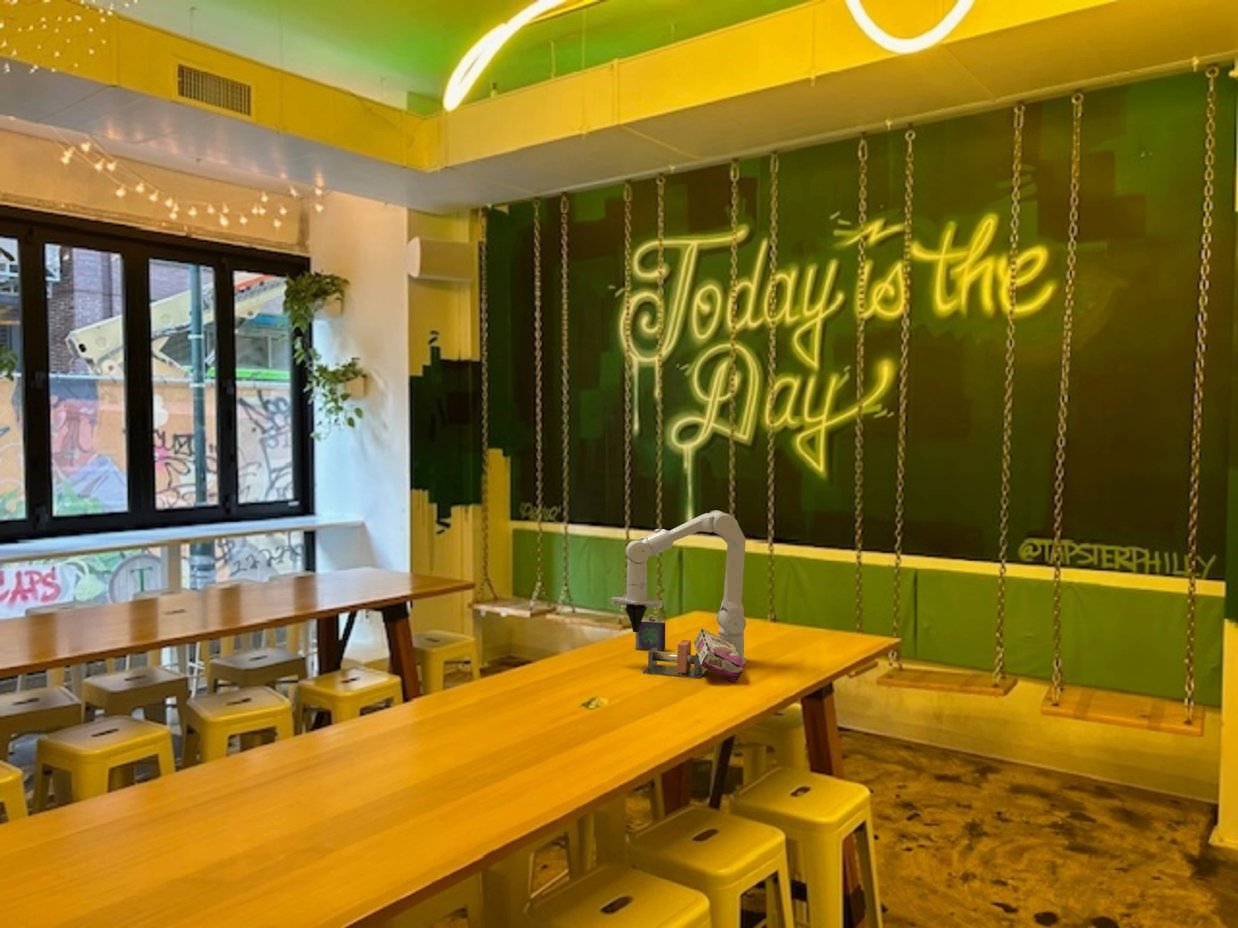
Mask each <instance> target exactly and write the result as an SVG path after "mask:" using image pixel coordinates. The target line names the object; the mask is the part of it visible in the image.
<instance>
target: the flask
mask: <svg viewBox="0 0 1238 928" xmlns="http://www.w3.org/2000/svg"><path fill="white" fill-rule="evenodd" d="M653 616H654V614H649V615H648V616H647V618H648V619H642V621H641V624H640V629H639V632H635V650H638V651H647V652H649V651H650V650H651V649H652V648H657V652H660V653H666V652H665V650H666V622H665V620H661V619H656V618H654V617H653Z"/></svg>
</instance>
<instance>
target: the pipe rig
mask: <svg viewBox="0 0 1238 928" xmlns="http://www.w3.org/2000/svg"><path fill="white" fill-rule="evenodd" d="M647 654H648V659H647V660H648V661H647V668H645V669H644V670H643V671H642V674H647V675H658V676H667V677H669V676H670V677H677V678H687V679H688V678H689V679H690V678H691V679H701V678H702V677H703V676H704V675H705V673H706V672H707V670H708V669H707V668H703V666H701V664H700V661H699V657H698V654H697V653H696V654H695V655H692V654H691V655H687V664H691V665H693V667H691V668H690V669H689V670H688V671H687V672H686V673H681V672H677V665H670V664H669V665H667V664H658V662H666V663H673V664H674V663H675V664H677V658H678V653H671V652H660V651H657V648H652V649H651V650H650V651H647Z"/></svg>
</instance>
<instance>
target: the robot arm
mask: <svg viewBox="0 0 1238 928" xmlns="http://www.w3.org/2000/svg"><path fill="white" fill-rule="evenodd" d="M739 525H740V524H739V523H738V520H737V519H736V518H734V516H733V515H731V514H729V513H726V512H723V511H721V510H718V509H717V510H711V511H710V512H709V513H708V512H707V513H703V514H701V515H699V516H697V517H695V518H692V519H691V520H687V521H686V522H685V523H683V524H681V525H678V526H676V527H675V528H672V529H671V530H667V529H664V528H662V529H660V528H656V529H654V532H653V533H651V534H649V535H646V536H645V537H644V536H640V537H639V540H632V541H630V542H629V543H628V545H626V549H625V550H624V553H625V555H626V557H627V565H626V566H627V567H626V596H612V597H611V598H610V605H612V606H615V605H618V606H626V607H625V612H626V614H627V617H628V618H629V621H630V624H631V629H632V632H633V633H636V632H639V629H640V624H641V621H642V620H643V617H644V615H645V613H646V611H647V609H648V608H656V609H661V608H662V607H663V600H661V599H653V598H647V594H648V592H647V591H648V567H647V566H648V565H647V563H648V562H647V561H648V560H649V559H650V557H653V556H656V555H657V554H660V553H663V552H664V551H666V550H669V549H672V547H673V544H674V542H676V541H678V540H681V539H683V538H685V537H688V536H691V535H693V534H696V533H698V532H703V533H704V532H706V533H714V534H716V535H718V537H720V538H721V540H723V541H724V542H725V543H726V545H727V546H726V548H727V549H726V559H725V572H724V573H725V575H724V576H725V577H724V589H723V599H722V601H721V603H720V609H719V611H718V612H717V616H716V620H717V624H718V625H719V626H720V627H719V629H718V635H717V636H718V637H720V638H722V639H724V640H726V641H728V642H730V643H732V644H734V645H735V646H736V649H737V651H738V654H739V656H740V659H741V661H742V664H743V666H744V665H745V664H746V662H747V661H748V658H746V657H745V638H744V637H745V634H744V633H745V630H746V626H747V621H746V618H745V615H744V614H745V613H744V612H745V609H744V605H743V601H742V598H743V586H744V585H743V584H744V571H745V569H744V568H745V558H746V557H745V555H746V540H747V539H746V537H745V534H744V533H743V531H742V530H741V528H740V527H741V526H739Z"/></svg>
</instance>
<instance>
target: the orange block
mask: <svg viewBox="0 0 1238 928" xmlns="http://www.w3.org/2000/svg"><path fill="white" fill-rule="evenodd" d="M677 654H678V658H677V663H676V664H677V665H676V666H677V672H681V673H686V672H687V671H688V670H689V669H690V668H692V666H691V665H692V664H687V655H692V640H690V639H689V640H688V639H682V640H681V641H680V642H678V644H677Z"/></svg>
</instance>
